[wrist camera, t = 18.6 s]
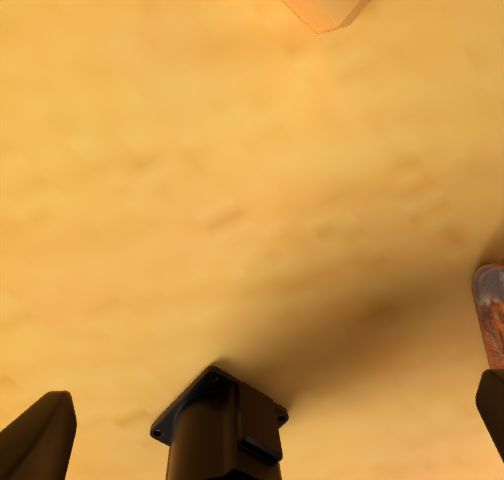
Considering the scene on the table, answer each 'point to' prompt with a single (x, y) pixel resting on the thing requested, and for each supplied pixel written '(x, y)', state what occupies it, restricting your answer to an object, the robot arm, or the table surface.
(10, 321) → the table surface
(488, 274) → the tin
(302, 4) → the rubber stamp
